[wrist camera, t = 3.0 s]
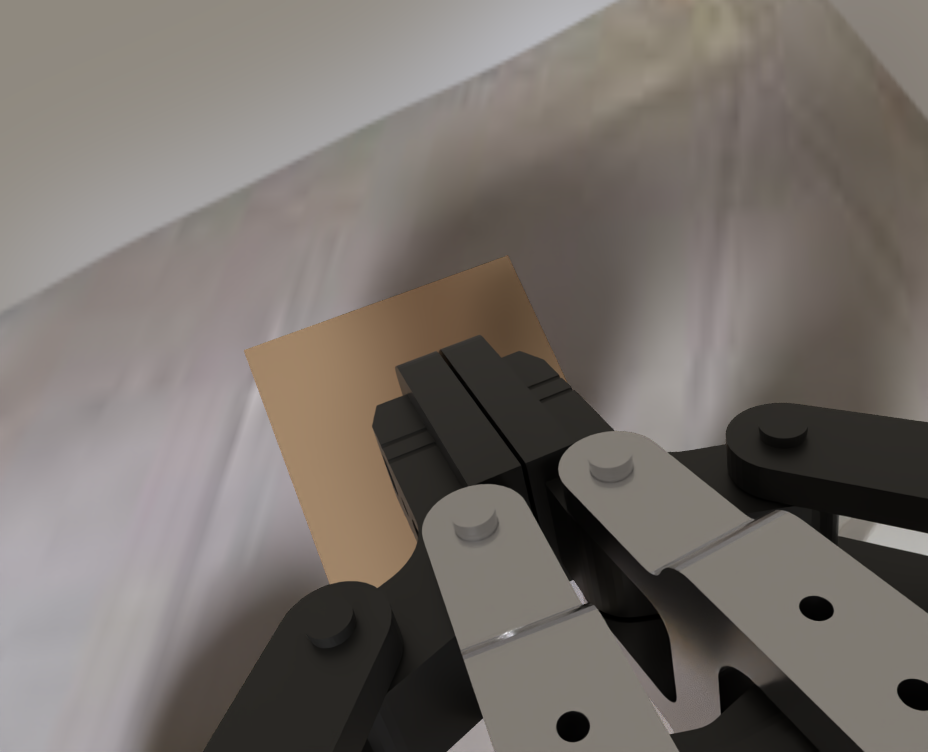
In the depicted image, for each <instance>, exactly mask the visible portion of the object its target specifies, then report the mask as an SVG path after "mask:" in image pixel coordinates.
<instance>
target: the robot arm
mask: <svg viewBox="0 0 928 752" xmlns="http://www.w3.org/2000/svg"><path fill="white" fill-rule="evenodd" d="M395 371H396V375H397V379H398V382H399V385H400V388H401V391H402V395H403V396H400V397H398V398H395V399H392V400H390V401H387V402H385V403H382V404H379V405H377V406H376V410H375V415H374V419H373V423H372V428H373V431H374V434H375V437H376V440H377V443H378V445H379V448H380V451H381V454H382V457H383V460H384V463H385V465H386V468H387V471H388V474H389V477H390V480H391V483H392V485H393V488H394V491H395V494H396V497H397V499H398V501H399V504H400V506H401V508H402V510H403V512H404V515H405V517H406V519H407V521H408V523H409V526H410V528H411V530H412V532H413V534H414V536H415V539H416V541H417V544H416V547H415V550H414V552H413V554H412V556H411V557H410V559H409V560H408V561H407V563H406V564H405V565H404V566H403V567H402V568H401V569H400V570H399V571H398V572H397V573H396V574H395V575H394V576H393V577H391V578H390V579H389V580H387V581H386V582H385V583H383V584H382V585H381V586H380V587H378V588H376V587H375V586H373V585H371V584H368V583H365V582H359V581H344V582H337V583H333V584H329V585H327V586H324V587H322V588H319V589H317V590H315V591H313V592H311V593H310V594H308V595H307V596H305V597H304V598H302V599H301V600H300V601H299V602H298V603H297V604H295V605H294V606H293V607H292V608H291V610H290V611H289V612H288V613H287V614H286V616H285V617H284V619H283V620H282V621H281V623H280V625H279V626H278V628H277V630H276V631H275V633H274V635H273V636H272V638H271V640H270V641H269V643H268V645H267V646H266V648H265V650H264V651H263V653H262V655H261V656H260V658H259V660H258V661H257V663H256V665H255V666H254V668H253V670H252V671H251V673H250V674H249V676H248V678H247V679H246V681H245V683H244V684H243V686H242V688H241V689H240V691H239V693H238V694H237V696H236V698H235V699H234V701H233V703H232V704H231V706H230V708H229V709H228V711H227V713H226V714H225V716H224V718H223V719H222V721H221V723H220V724H219V726H218V728H217V729H216V731H215V733H214V734H213V736H212V738H211V739H210V741H209V743H208V744H207V746H206V747H205V749H204V751H203V752H447V751H448V750H449V749H450V748H451V747H452V746H453V745H454V744H456V743H457V742H458V741H459V740H460V739H461V738H462V737H463V736H464V735H465V734H466V733H467V732H469V731H470V730H471V729H472V728H473V727H474V726H475V725H476V724H477V723H478V722H479V721H480V720H482V719H484V722H485V725H486V728H487V731H488V734H489V736H490V739H491V742H492V745H493V748H494V751H495V752H928V556H927V555H923V554H918V553H914V552H909V551H905V550H900V549H896V548H891V547H887V546H882V545H878V544H873V543H869V542H864V541H860V540H855V539H851V538H846V537H842V536H838V530H839V515H841V516H846V517H851V518H855V519H860V520H865V521H870V522H875V523H879V524H884V525H889V526H894V527H899V528H903V529H908V530H913V531H918V532H923V533H927V534H928V422H922V421H914V420H907V419H900V418H893V417H886V416H879V415H872V414H865V413H857V412H850V411H843V410H836V409H829V408H822V407H815V406H807V405H800V404H792V403H772V404H764V405H760V406H756V407H753V408H750V409H748V410H746V411H743V412H742V413H740V414H739V415H737V416H736V417H735V418H734V419H733V420H732V421H731V422H730V424H729V425H728V427H727V430H726V444H725V445H719V446H713V447H707V448H701V449H695V450H689V451H682V452H666V451H665V450H664V449H663V448H661V447H660V446H659V445H658V444H656V443H655V442H654V441H652V440H651V439H649V438H647V437H645V436H643V435H640V434H636V433H632V432H626V431H614V430H613V429H612V428H611V427H610V426H609V425H608V424H607V423H606V422H605V421H604V420H603V419H602V417H601V416H600V415H599V414H598V413H597V412H596V411H595V410H594V409H593V408H592V407H591V406H590V405H589V404H588V403H587V402H586V401H585V400H584V399H583V398H582V397H581V396H580V395H579V394H578V393H577V392H576V391H575V390H574V391H573V390H572V388H571V386H570V385H569V384H568V383H567V382H566V381H565V380H564V379H563V378H560V376H559V374H558V373H557V372H556V371H555V370H554V369H553V368H552V367H551V366H550V365H549V364H548V363H547V362H546V361H545V360H544V359H541V358H538V357H536V356H533V355H530V354H527V353H525V352H522V351H517V352H515V353H512V354H510V355H507V356H504V357H502V358H501V357H500V356H499V354H498V353H497V352H496V351H495V350H494V349H493V348H492V347H491V345H490V344H489V343H488V342H487V341H486V340H485V339H484V337H482V336H481V335H477V336H475V337H472V338H469V339H466V340H464V341H461V342H458V343H456V344H453V345H450V346H448V347H445V348H442V349H440V350H439V353H438V352H437V351H435V352H432V353H430V354H427V355H424V356H422V357H419V358H416V359H414V360H411V361H408V362H405V363H403V364H400V365H397V366H395ZM572 580H574V581H575V583H576V584H577V586H578V587H579V589H580V590H581V591H582V593H583V598H584V603H585V604H584V605H583V604H582V603H581V602H580V600H579V598H578V596H577V595H576V593H575V591H574V589H573V587H572V585H571V584H570V582H569V581H572ZM648 697H649V698H650V700H651V701H652V702H653V703H654V705H655V706H656V707H657V709H658V710H659V711H660V712H661V714H662V715H663V716H664V717H665V719H666V720H667V721H668V723H669V724H670V726H671V728H672V729H673V731H674V734H669V733H668V731H667V729H666V728H665V726H664V724H663V722H662V721H661V719H660V717H659V715H658V714H657V712H656V710H655V708H654V707H653V705H652V703H651V701H650V700H649V698H648Z"/></svg>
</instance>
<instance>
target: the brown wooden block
mask: <svg viewBox="0 0 928 752" xmlns="http://www.w3.org/2000/svg"><path fill="white" fill-rule="evenodd" d="M477 335H481V336H482V337H484V339H485V340H486V341H487V342H488V343H489V344H490V345H491V347H492V348H493V349H494V350H495V351H496V352H497V353H498V354H499V356H500V357H501V358H502V357H504V356H507V355H510V354H512V353H515V352H517V351H522V352H525V353H527V354H530V355H533V356H536V357H538V358H541V359H544V360H545V361H546V362H547V363H548V364H549V365H550V366H551V367H552V368H553V369H554V370H555V371H556V372H557V373H558V374H559V376H560V378H563V379H564V380H565V381H566V379H565V376H564V374H563V372H562V370H561V368H560V366H559V364H558V361H557V359H556V357H555V355H554V353H553V351H552V349H551V347H550V344H549V342H548V340H547V338H546V336H545V334H544V332H543V329H542V327H541V325H540V323H539V321H538V319H537V317H536V314H535V312H534V310H533V308H532V306H531V304H530V302H529V299H528V297H527V295H526V293H525V291H524V289H523V287H522V284H521V282H520V280H519V278H518V276H517V274H516V272H515V269H514V267H513V265H512V263H511V261H510V259H509V257H508V255H507V256H505V257H502V258H499V259H496V260H493V261H491V262H488V263H485V264H482V265H480V266H477V267H474V268H471V269H468V270H466V271H463V272H460V273H457V274H455V275H452V276H449V277H446V278H443V279H441V280H438V281H435V282H432V283H430V284H427V285H424V286H421V287H418V288H416V289H413V290H410V291H407V292H404V293H402V294H399V295H396V296H393V297H391V298H388V299H385V300H382V301H379V302H377V303H374V304H371V305H368V306H366V307H363V308H360V309H357V310H354V311H352V312H349V313H346V314H343V315H341V316H338V317H335V318H332V319H329V320H327V321H324V322H321V323H318V324H316V325H313V326H310V327H307V328H304V329H302V330H299V331H296V332H293V333H291V334H288V335H285V336H282V337H279V338H277V339H274V340H271V341H268V342H266V343H263V344H260V345H257V346H254V347H252V348H249V349H246V350H244V352H245V355H246V358H247V360H248V363H249V366H250V369H251V371H252V374H253V377H254V379H255V382H256V385H257V388H258V390H259V393H260V396H261V398H262V401H263V404H264V407H265V409H266V412H267V415H268V418H269V420H270V423H271V426H272V428H273V431H274V434H275V437H276V439H277V442H278V445H279V447H280V450H281V453H282V456H283V458H284V461H285V464H286V466H287V469H288V472H289V475H290V477H291V480H292V483H293V485H294V488H295V491H296V494H297V496H298V499H299V502H300V505H301V507H302V510H303V513H304V515H305V518H306V521H307V524H308V526H309V529H310V532H311V534H312V537H313V540H314V543H315V545H316V548H317V551H318V553H319V556H320V559H321V562H322V564H323V567H324V570H325V573H326V575H327V578H328V581H329V583H330V584H333V583H337V582H344V581H359V582H365V583H368V584H371V585H373V586H375V587H376V588H378V587H380V586H381V585H382V584H383V583H385V582H386V581H387V580H389V579H390V578H391V577H393V576H394V575H395V574H396V573H397V572H398V571H399V570H400V569H401V568H402V567H403V566H404V565H405V564H406V563H407V561H408V560H409V559H410V557H411V556H412V554H413V552H414V550H415V547H416V544H417V541H416V539H415V536H414V534H413V532H412V530H411V528H410V526H409V523H408V521H407V519H406V517H405V515H404V512H403V510H402V508H401V506H400V504H399V501H398V499H397V497H396V494H395V491H394V488H393V485H392V483H391V480H390V477H389V474H388V471H387V468H386V465H385V463H384V460H383V457H382V454H381V451H380V448H379V445H378V443H377V440H376V437H375V434H374V431H373V428H372V423H373V419H374V415H375V410H376V406H377V405H379V404H382V403H385V402H387V401H390V400H392V399H395V398H398V397H400V396H403V395H402V391H401V388H400V385H399V382H398V379H397V375H396V371H395V366H397V365H400V364H403V363H405V362H408V361H411V360H414V359H416V358H419V357H422V356H424V355H427V354H430V353H432V352H435V351H437V352H438V353H439V350H440V349H442V348H445V347H448V346H450V345H453V344H456V343H458V342H461V341H464V340H466V339H469V338H472V337H475V336H477ZM566 382H567V381H566Z"/></svg>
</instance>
